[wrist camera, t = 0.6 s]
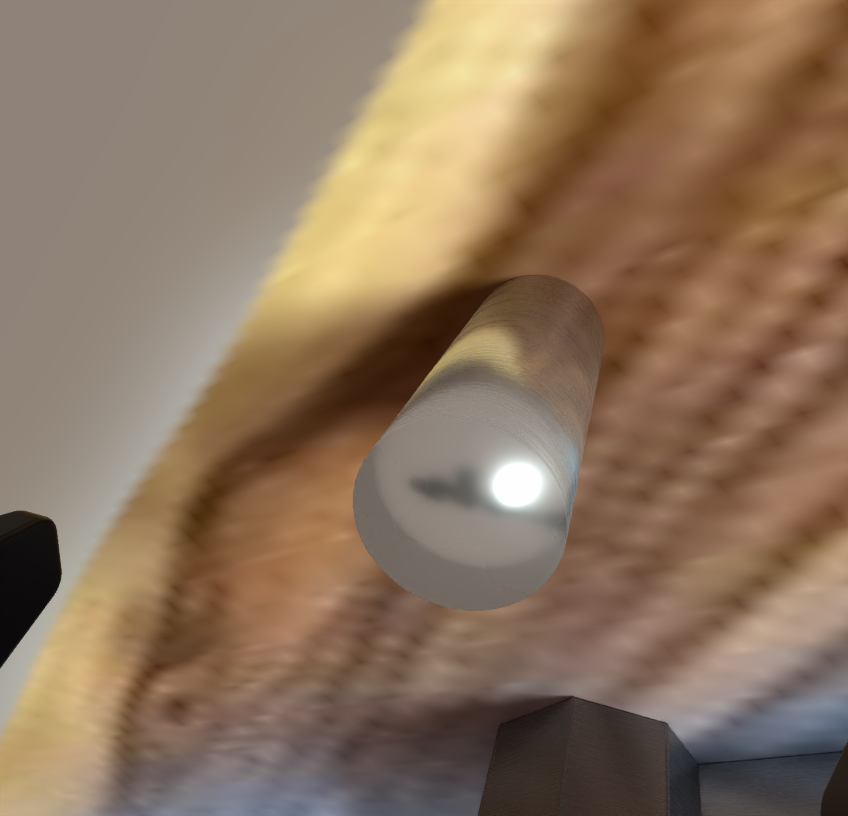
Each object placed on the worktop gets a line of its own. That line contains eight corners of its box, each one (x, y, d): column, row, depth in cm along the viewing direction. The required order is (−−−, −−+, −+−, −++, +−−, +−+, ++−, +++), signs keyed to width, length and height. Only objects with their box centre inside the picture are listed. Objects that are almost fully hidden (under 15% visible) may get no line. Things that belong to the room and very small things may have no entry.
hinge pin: (617, 288, 17) (587, 447, 10) (589, 412, 18) (545, 633, 11) (482, 264, 17) (361, 398, 10) (464, 386, 19) (346, 579, 12)
